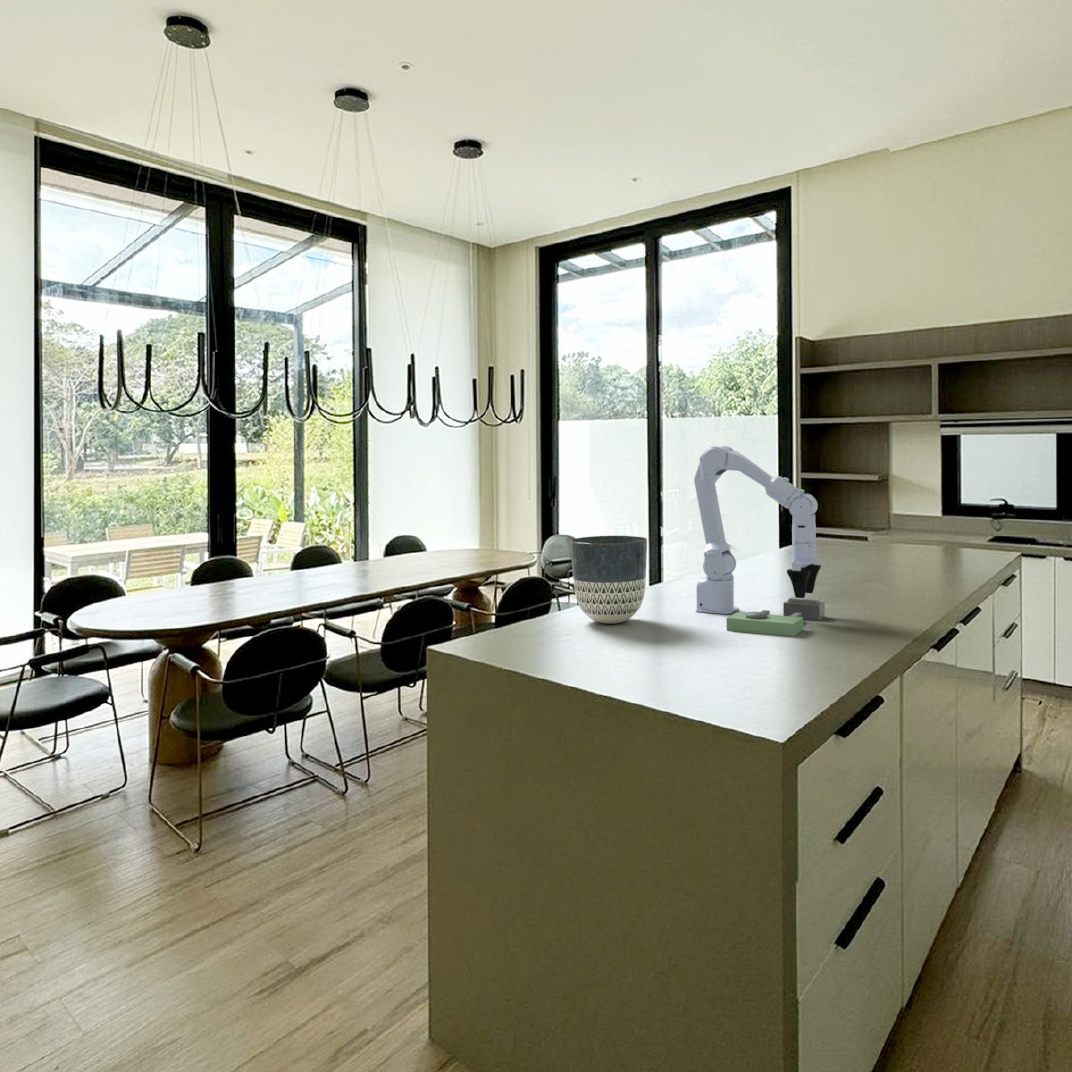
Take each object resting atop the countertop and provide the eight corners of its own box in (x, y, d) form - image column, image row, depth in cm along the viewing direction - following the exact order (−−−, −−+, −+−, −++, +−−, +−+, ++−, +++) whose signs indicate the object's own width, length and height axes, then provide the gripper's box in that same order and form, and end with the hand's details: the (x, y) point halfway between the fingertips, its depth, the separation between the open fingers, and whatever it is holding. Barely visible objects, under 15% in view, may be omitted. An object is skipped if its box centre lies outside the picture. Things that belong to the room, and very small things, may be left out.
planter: (572, 615, 223) (569, 536, 221) (644, 613, 222) (643, 534, 220) (573, 631, 204) (570, 544, 201) (652, 629, 203) (650, 542, 201)
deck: (726, 630, 199) (726, 614, 199) (751, 616, 214) (751, 602, 214) (793, 636, 190) (793, 620, 190) (814, 622, 205) (814, 606, 205)
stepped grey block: (819, 621, 207) (819, 601, 206) (783, 618, 212) (783, 599, 211) (824, 617, 211) (824, 598, 211) (789, 614, 216) (789, 595, 216)
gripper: (812, 545, 201) (812, 600, 203) (827, 539, 213) (827, 591, 215) (783, 545, 205) (783, 599, 207) (799, 539, 217) (800, 590, 219)
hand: (804, 595), depth 211 cm, fingers open, 7 cm apart
